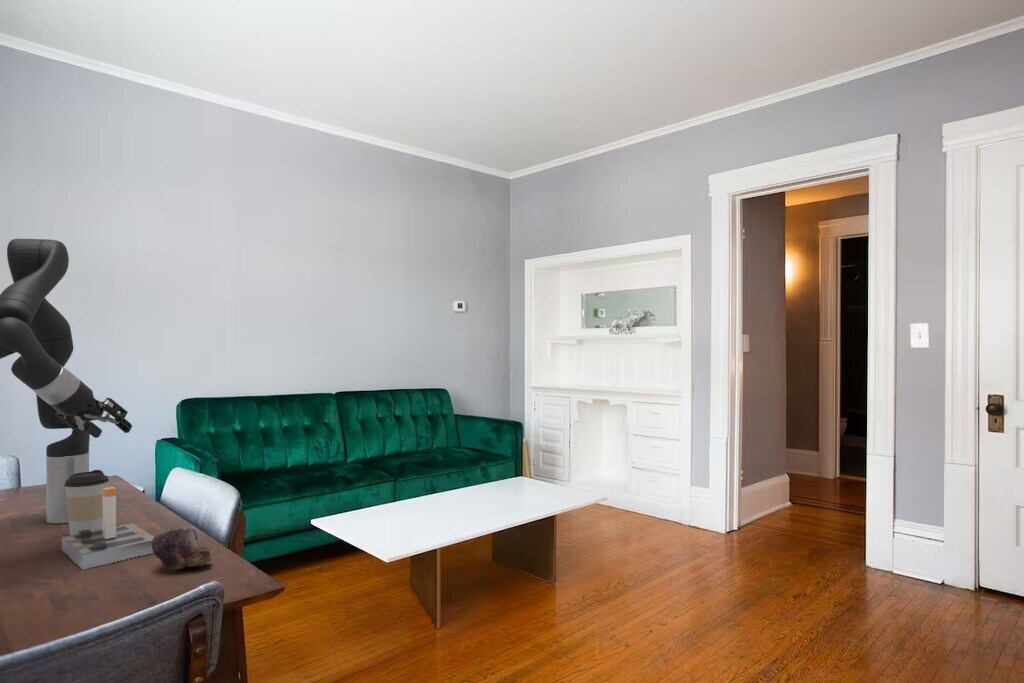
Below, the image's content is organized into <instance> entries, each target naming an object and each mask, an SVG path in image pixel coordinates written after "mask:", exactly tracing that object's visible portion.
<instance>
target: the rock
mask: <svg viewBox="0 0 1024 683" xmlns="http://www.w3.org/2000/svg"><path fill="white" fill-rule="evenodd" d="M197 533H198V532H197V528H195V526H190V527H189V526H178V527H176V528H172V529H170V530H167V531H164V532H162V533H160V534H158V535H156V536H154V538H153V540H152V544H151V546H152V549H153V553H154V556H155V557H156V558H157V559H159V560H160V561H161V564H162V566H163V567H164V568H166V569H169V570H170V571H172V570H174V571H177V570H179V569H180V570H181V569H183V568H186V567H187V568H192V567H193V568H195V567H198V568H200V567H202V566H204V565H206V564H208V563H209V562H212V557H211V551H210V550H209V548H207V547H206V546H200V544H199V539H198V534H197Z"/></svg>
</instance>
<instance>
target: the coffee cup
mask: <svg viewBox="0 0 1024 683" xmlns="http://www.w3.org/2000/svg"><path fill="white" fill-rule="evenodd" d="M109 481H110V478H109V476H108V475H105V473H104V472H103V471H102V470H101V469H93V470H91V471H89V472H82V473H76V474H73V475H71V476H70V477H69V479H67V480H66V481H65V485H64V486H65V488H66V495H65V497H66V507H67V517H68V520H69V522H68V530H69V535H74V534H78V531H82V530H88V529H89V530H90V531H95V530H100V529H103V495H102V488H106V487H109V486H108V484H109Z"/></svg>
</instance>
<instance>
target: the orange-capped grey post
mask: <svg viewBox="0 0 1024 683" xmlns="http://www.w3.org/2000/svg"><path fill="white" fill-rule="evenodd" d="M102 495H103V538H105V539H109V538H114V537H116V526H117V487H115V486H108V487H106V488H102Z"/></svg>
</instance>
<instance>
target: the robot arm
mask: <svg viewBox="0 0 1024 683" xmlns="http://www.w3.org/2000/svg"><path fill="white" fill-rule="evenodd" d="M6 258H7V263H8V267H9V271H10V275H11V278H12V279H11V280H12V281H13V282H12V283H11V284H9V286H7V287H6V288H4V289H3V290H2V291H1V293H0V360H2V359H4V358H6V357H8V356H11V355H13V354H16V353H17V354H19V355H20V356H18V358H17V359H15V360H14V362H13V364H12V365H11V368H10V369H11V373H12V374H13V375H14V377H16V379H18V380H19V381H21V383H23V384H25V386H27V387H28V388H30V389H31V391H33V393H35V394H36V406H37V414H38V419H39V422H40V424H41V426H42V427H43V428H44V429H47V430H59V429H60V430H63V429H65V430H66V429H71V434H69V435H68V436H67V437H65V438H63V439H60V440H58V441H55V442H51V443H49V444H48V445H46V449H45V451H46V461H45V463H46V465H45V466H46V472H45V473H46V476H45V477H46V478H45V480H46V482H45V483H46V523H47V524H66V523H68V524H69V520H68V517H67V507H66V497H65V495H66V488H65V486H64V485H65V481H66V480H67V479H69V477H70V476H71V475H73V474H76V473H82V472H90V438H91V436H92V437H93V438H95V439H96V438H100V436H101V435H102V433H103V430H102V429H101V428H100V427H99V426H98V425H96V424H95V423H94V422H93V421H100V422H103V423H111V424H114V426H116V427H117V428H118V429H119V430H121V431H122V432H123V433H124V434H128V433H130V431H131V430H132V428H133V425H132V423H131V422H130V421H128V420H127V419H126V417H127V415H128V411H127V409H125V408H124V407H122V405H120V404H119V403H117V402H116V401H115V400H113V398H111V397H106V399H105V400H103V401H100V400H98V399H96V398H95V396H94V391H93V390H92V389H91V387H89V386H88V385H86V384H85V383H84V382H83V381H82V380H81V379H80V378H78V377H77V376H76V375H75V374H73V373H72V372H71V371H70V370H68V369H66V368H65V366H66V364H67V363H68V361H69V359H70V358H71V356H72V354H73V352H74V341H73V335H72V330H71V326H70V323H69V321H68V320H67V319H66V318H65V316H64V315H62V313H61V312H60V311H59V310H58V309H56V307H55V306H54V305H52V304H51V302H49V301H48V299H47V298H46V297H47V296H48V295H49V294H50V293H51V291H53V289H54V288H55V287H56V286H57V285H58V284H59V282H60V281H61V280H62V279H63V278H64V276H65V275H66V273H67V271H68V268H69V262H70V259H69V253H68V249H67V247H66V245H65V244H64V243H63V241H60V240H56V239H49V238H48V239H44V238H13V239H11V240H10V241H9V242H8V244H7V248H6ZM104 412H105V413H106V414H105V415H104ZM103 415H104V416H103ZM110 416H112V417H110Z"/></svg>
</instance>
